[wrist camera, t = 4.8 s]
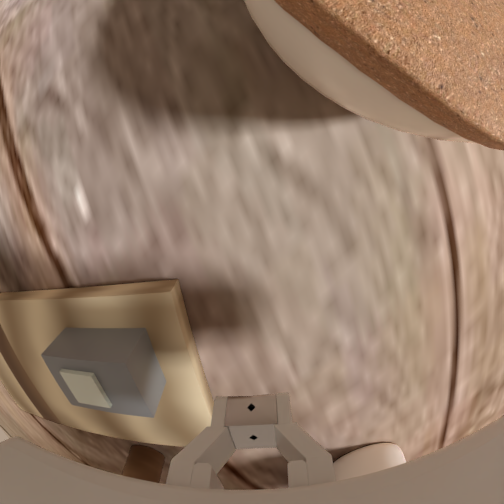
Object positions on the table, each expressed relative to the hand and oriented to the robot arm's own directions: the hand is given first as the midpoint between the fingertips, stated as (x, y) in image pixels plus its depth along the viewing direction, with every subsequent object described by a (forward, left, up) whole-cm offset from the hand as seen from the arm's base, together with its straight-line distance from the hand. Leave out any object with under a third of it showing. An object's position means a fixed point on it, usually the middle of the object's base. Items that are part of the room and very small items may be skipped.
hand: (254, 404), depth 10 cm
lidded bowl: (-7, -16, -6) cm, 18 cm away
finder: (+9, 0, -4) cm, 9 cm away
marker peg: (+13, +15, -5) cm, 21 cm away
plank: (+16, +3, -5) cm, 17 cm away
